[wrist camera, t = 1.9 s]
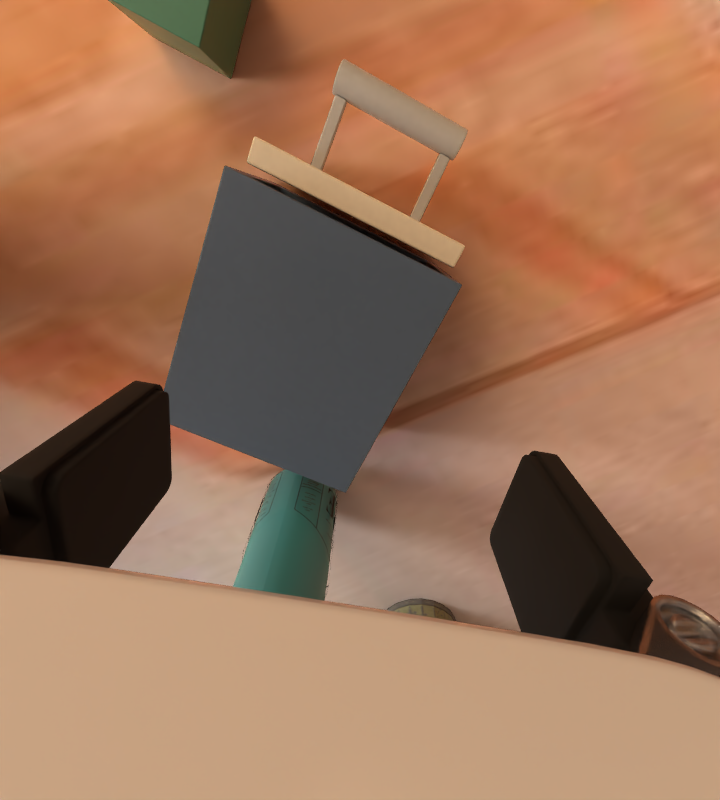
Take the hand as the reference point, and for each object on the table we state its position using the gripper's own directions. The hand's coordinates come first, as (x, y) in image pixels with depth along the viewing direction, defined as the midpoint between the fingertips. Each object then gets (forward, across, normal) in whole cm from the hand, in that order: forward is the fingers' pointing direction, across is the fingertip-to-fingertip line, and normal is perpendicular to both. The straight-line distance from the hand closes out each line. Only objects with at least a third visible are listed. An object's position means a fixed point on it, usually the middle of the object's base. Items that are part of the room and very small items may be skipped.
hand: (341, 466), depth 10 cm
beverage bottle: (+22, +2, +18) cm, 28 cm away
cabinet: (+22, +3, +2) cm, 22 cm away
